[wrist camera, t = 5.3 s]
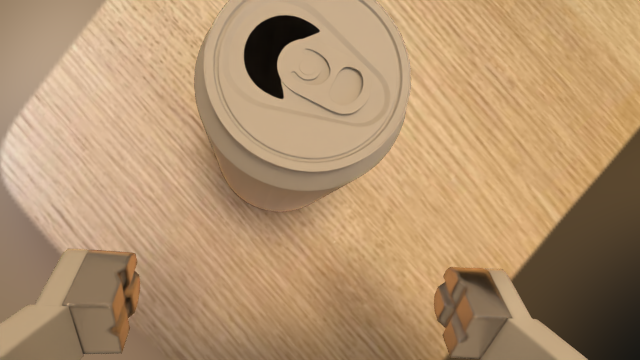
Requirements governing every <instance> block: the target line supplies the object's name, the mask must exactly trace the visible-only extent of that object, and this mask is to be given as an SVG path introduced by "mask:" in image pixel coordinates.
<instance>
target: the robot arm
mask: <svg viewBox="0 0 640 360" xmlns="http://www.w3.org/2000/svg"><path fill="white" fill-rule="evenodd" d="M136 265H137V259H136V254H135V253H131V252H117V251H103V250H85V249H69V248H68V249H67V250H66V251H65V252H64V253H63V254H62V255H61V257H60V259H59V261H58V263H57V265H56V266H55V268H54V270H53V272H52V274H51V276H50V278H49V279H48V281H47V283H46V285H45V287H44V288H43V290H42V292H41V294H40V296H39V298H38V299H37V301H36V303H35V305H26V306H25V307H24V308H22V309H21V310H20V311H18V312H16V313H15V314H13V315H12V316H10V317H9V318H7V319H6V320H4V321H3V322H2V323H0V360H80V359H81V358H82V357H83V354H109V353H110V354H111V353H122V351H123V348H124V345H125V342H126V339H127V336H128V333H129V330H130V326H129V321H128V318H129V317H130V316H131V315H133V314H134V313H135V310H136V307H137V304H138V299H139V293H140V278H139V274H137V273H136V272H135V268H136ZM443 277H444V279H445V283H443V284H442V285H440V286H439V287H438V288H437V291H436V293H435V296H434V309H435V314H436V317H437V320H438V322H440V323H441V324H442V325H443V326H444V327H445V331H444V333H443V338H444V341H445V344H446V347H447V349H448V352H449V355H450V358H470V359H480V360H588V359H586V358H585V357H584V356H583V355H581V354H580V353H579V352H578V351H576V350H575V349H574V348H573V347H571V346H570V345H569V344H568V343H566V342H565V341H564V340H562V339H561V338H560V337H559V336H557V335H556V334H555V333H554V332H552V331H551V330H550V329H549V328H547V327H546V326H545V325H543V324H542V323H541V322H540V321H538V320H537V319H532V318H531V317H530V315H529V313H528V311H527V309H526V307H525V306H524V304H523V302H522V300H521V298H520V297H519V295H518V293H517V291H516V289H515V287H514V286H513V284H512V282H511V280H510V278H509V277H508V275H507V273H506V272H505V271H504V270H503V269H483V268H461V267H450V268H448V269H447V270H446V272H445V274H444V276H443Z"/></svg>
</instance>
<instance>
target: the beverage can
mask: <svg viewBox="0 0 640 360" xmlns="http://www.w3.org/2000/svg"><path fill="white" fill-rule="evenodd" d="M194 88H195V97H196V104H197V108H198V111H199V114H200V117H201V120H202V123H203V125H204V128H205V130H206V133H207V135H208V138H209V141H210V143H211V146H212V148H213V151H214V153H215V156H216V158H217V161H218V164H219V166H220V169H221V171H222V174H223V176H224V178H225V180H226V181H227V183H228V185H229V186H230V187H231V189H232V190H233V191H234V192H235V193H236V194H237V195H238V196H239V197H240V198H242V199H243V200H244V201H246V202H248V203H249V204H251V205H253V206H255V207H258V208H261V209H264V210H269V211H277V212H285V211H292V210H297V209H300V208H303V207H305V206H307V205H309V204H311V203H313V202H315V201H317V200H319V199H320V198H322V197H324V196H326V195H328V194H330V193H331V192H333V191H335V190H337V189H339V188H341V187H343V186H344V185H346V184H348V183H350V182H352V181H354V180H355V179H357V178H359V177H360V176H362V175H364V174H365V173H367V172H368V171H369V170H371V169H372V168H373V167H374V166H375V165H377V164H378V163H379V162H380V161H381V160H382V159H383V157H384V156H385V155H386V154H387V153H388V151H389V150H390V149H391V147H392V146H393V144H394V142H395V140H396V139H397V137H398V135H399V133H400V130H401V127H402V124H403V122H404V118H405V113H406V108H407V104H408V100H409V95H410V89H411V68H410V61H409V56H408V52H407V48H406V45H405V42H404V40H403V37H402V35H401V33H400V31H399V29H398V27H397V26H396V24H395V22H394V21H393V19H392V18H391V17H390V15H389V14H388V13H387V12H386V10H385V9H384V8H383V7H382V6H381V5H380V4H379V3H378V2H377V1H376V0H229V1H228V2H227V3H226V4H225V6H224V7H223V8H222V10H221V11H220V12H219V14H218V15H217V17H216V19H215V21H214V23H213V25H212V27H211V28H210V30H209V31H208V33H207V35H206V37H205V39H204V41H203V43H202V45H201V48H200V50H199V54H198V57H197V61H196V66H195V77H194Z"/></svg>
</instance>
